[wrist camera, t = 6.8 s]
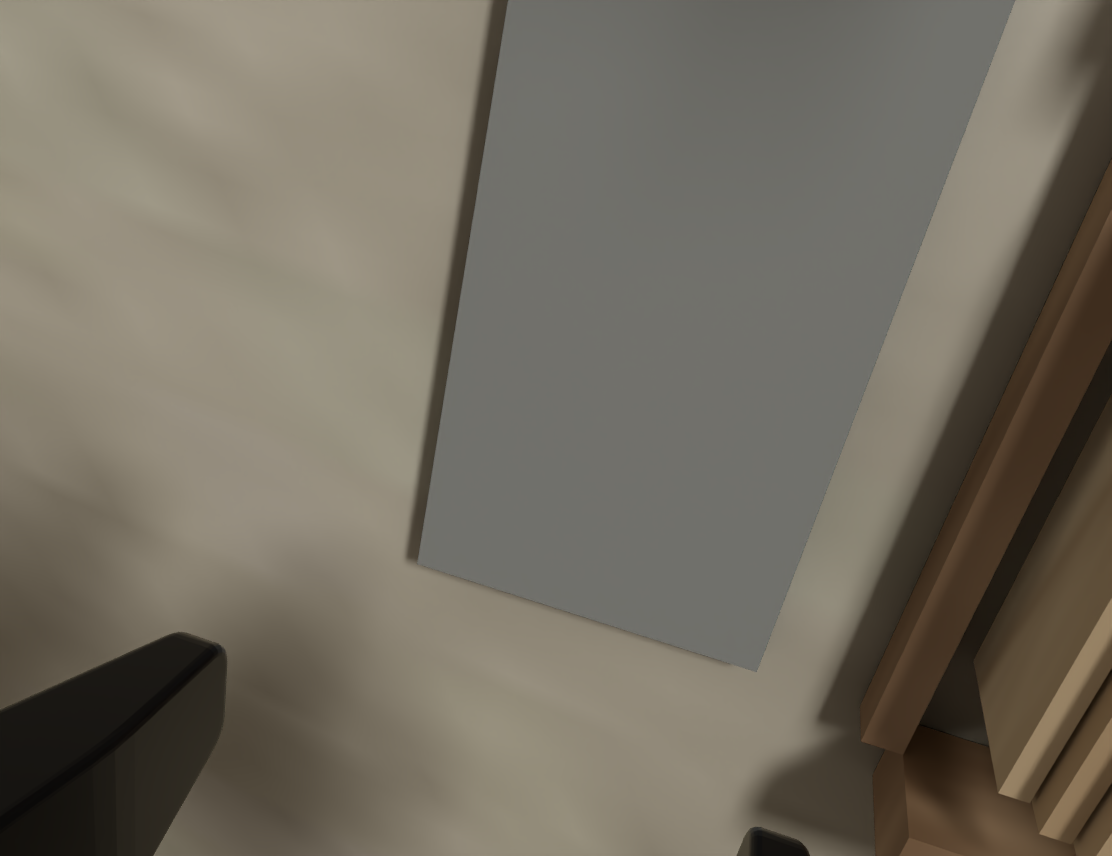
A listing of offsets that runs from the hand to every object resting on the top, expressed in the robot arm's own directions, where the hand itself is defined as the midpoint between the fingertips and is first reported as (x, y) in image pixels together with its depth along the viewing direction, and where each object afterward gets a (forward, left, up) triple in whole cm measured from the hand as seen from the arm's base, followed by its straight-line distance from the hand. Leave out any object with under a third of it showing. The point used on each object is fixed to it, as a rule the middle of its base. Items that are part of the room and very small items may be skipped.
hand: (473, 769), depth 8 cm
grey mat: (0, 0, -11) cm, 11 cm away
